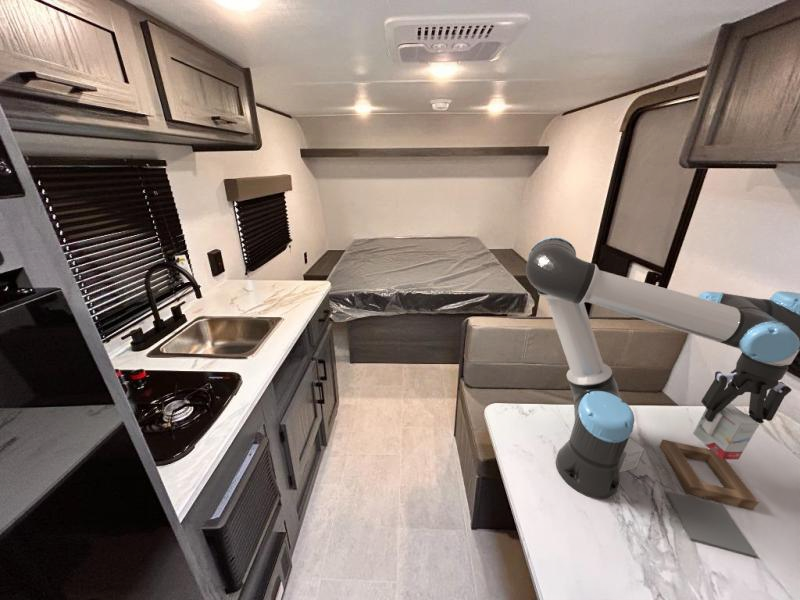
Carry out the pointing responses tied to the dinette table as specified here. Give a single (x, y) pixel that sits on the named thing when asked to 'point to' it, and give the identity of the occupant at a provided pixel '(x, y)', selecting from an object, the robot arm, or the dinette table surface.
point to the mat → (709, 524)
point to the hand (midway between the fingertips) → (721, 433)
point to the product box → (630, 456)
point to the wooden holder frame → (732, 485)
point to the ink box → (728, 433)
